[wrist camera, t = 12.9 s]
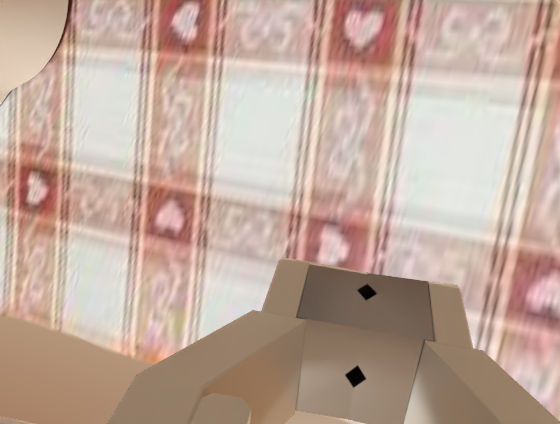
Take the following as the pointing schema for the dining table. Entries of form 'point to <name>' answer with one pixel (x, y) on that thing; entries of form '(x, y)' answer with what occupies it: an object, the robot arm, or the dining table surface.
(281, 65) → the dining table surface
